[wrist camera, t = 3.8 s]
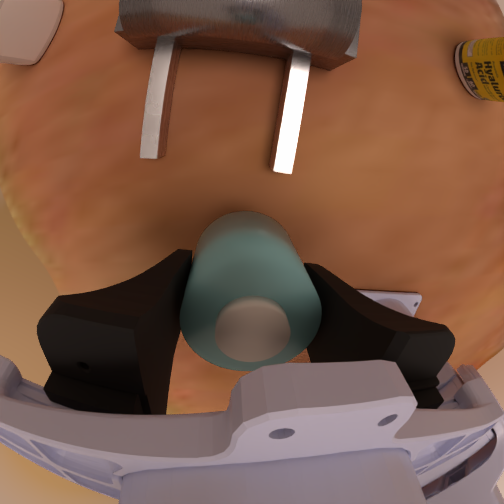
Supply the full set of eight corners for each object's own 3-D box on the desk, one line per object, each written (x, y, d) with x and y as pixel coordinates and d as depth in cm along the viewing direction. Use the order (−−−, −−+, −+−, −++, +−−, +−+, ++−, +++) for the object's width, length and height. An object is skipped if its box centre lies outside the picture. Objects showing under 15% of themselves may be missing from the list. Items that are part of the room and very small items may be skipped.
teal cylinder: (282, 302, 15) (304, 383, 10) (193, 294, 14) (178, 377, 9) (302, 217, 13) (345, 278, 8) (199, 205, 12) (177, 262, 7)
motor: (312, 173, 17) (353, 200, 11) (123, 153, 15) (70, 170, 9) (336, 22, 12) (382, -16, 6) (151, 0, 11) (117, -45, 5)
